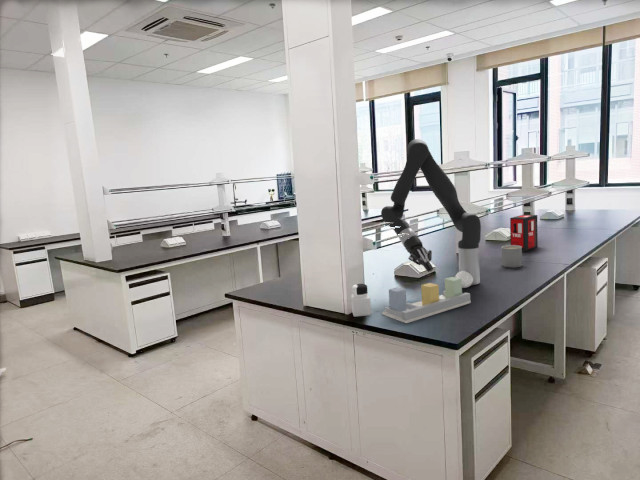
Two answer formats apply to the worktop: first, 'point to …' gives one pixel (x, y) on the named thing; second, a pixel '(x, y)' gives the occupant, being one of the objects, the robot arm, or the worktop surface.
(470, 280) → the crumpled paper ball
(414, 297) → the worktop surface
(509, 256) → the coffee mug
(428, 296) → the yellow rectangular block
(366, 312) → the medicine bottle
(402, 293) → the blue-grey block
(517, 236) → the cleaning product box
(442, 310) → the white divided tray
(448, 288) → the pale green block
